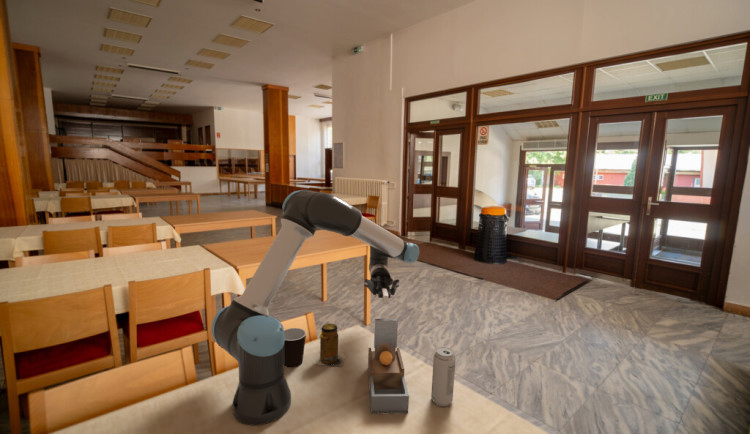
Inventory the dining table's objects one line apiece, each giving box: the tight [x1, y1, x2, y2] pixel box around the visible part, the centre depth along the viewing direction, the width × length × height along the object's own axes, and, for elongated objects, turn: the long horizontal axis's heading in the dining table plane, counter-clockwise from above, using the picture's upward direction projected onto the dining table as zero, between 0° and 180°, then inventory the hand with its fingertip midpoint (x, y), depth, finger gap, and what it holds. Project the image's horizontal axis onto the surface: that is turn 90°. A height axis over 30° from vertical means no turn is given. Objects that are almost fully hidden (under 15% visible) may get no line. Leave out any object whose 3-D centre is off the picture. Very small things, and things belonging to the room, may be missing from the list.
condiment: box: [316, 323, 346, 367], centre depth 116 cm, size 7×8×12 cm
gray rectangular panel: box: [373, 318, 399, 359], centre depth 107 cm, size 7×1×13 cm, turn 94°
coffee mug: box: [284, 327, 307, 369], centre depth 116 cm, size 12×9×10 cm
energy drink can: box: [430, 346, 457, 407], centre depth 98 cm, size 6×6×15 cm
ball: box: [379, 351, 393, 365], centre depth 105 cm, size 4×4×4 cm
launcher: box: [367, 347, 405, 392], centre depth 107 cm, size 10×12×7 cm
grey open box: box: [369, 375, 410, 414], centre depth 97 cm, size 10×9×5 cm
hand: (386, 299), depth 110 cm, fingers closed
